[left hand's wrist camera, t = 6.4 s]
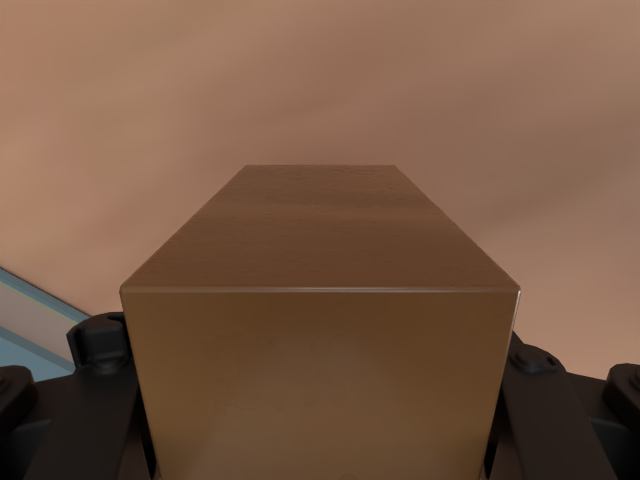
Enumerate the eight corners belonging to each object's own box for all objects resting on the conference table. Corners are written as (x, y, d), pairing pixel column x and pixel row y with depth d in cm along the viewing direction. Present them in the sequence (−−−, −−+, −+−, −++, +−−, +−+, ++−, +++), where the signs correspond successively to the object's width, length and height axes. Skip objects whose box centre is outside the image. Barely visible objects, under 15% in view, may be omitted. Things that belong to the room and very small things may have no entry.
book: (227, 391, 32) (211, 442, 27) (140, 496, 36) (114, 555, 32) (-45, 244, 27) (-121, 276, 22) (-104, 387, 32) (-178, 438, 27)
